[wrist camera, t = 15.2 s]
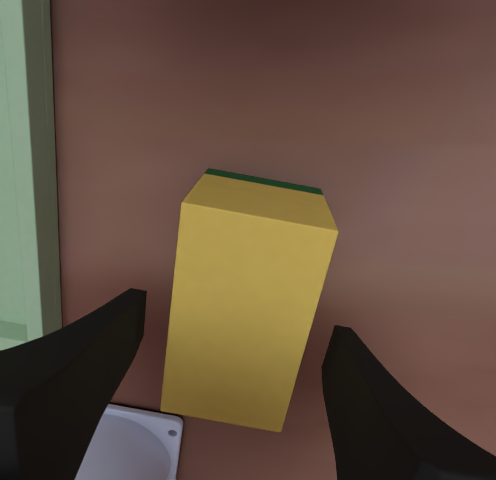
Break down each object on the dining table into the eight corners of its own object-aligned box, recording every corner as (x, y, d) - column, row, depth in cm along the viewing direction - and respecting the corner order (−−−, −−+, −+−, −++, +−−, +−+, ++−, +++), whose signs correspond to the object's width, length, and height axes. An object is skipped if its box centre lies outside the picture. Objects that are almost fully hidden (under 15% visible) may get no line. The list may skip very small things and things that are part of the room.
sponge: (279, 351, 20) (281, 433, 15) (186, 334, 20) (159, 411, 15) (321, 188, 16) (338, 231, 12) (207, 167, 16) (181, 202, 12)
